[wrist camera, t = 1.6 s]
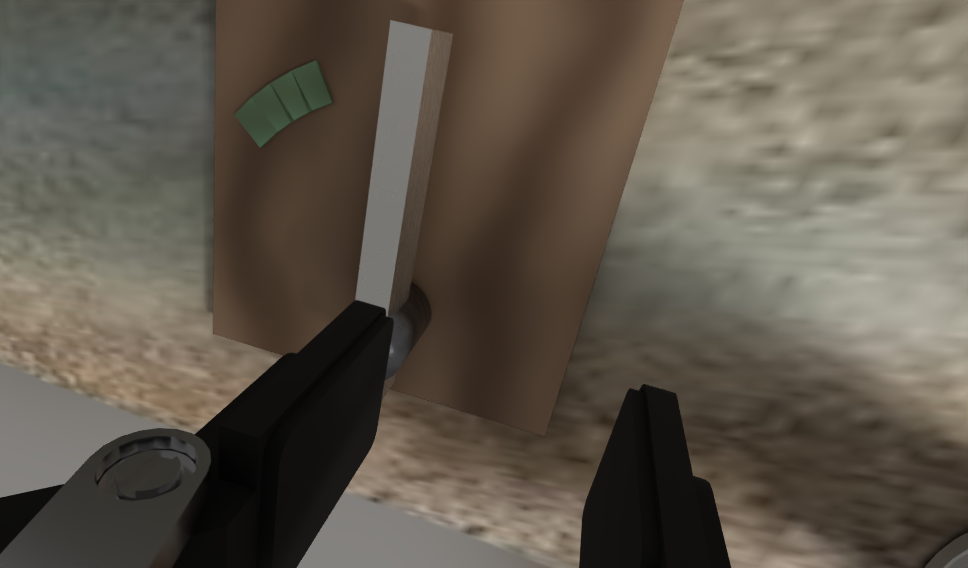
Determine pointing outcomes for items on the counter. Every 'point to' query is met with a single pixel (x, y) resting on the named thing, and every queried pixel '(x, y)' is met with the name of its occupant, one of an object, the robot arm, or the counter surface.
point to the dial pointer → (402, 182)
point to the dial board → (432, 178)
